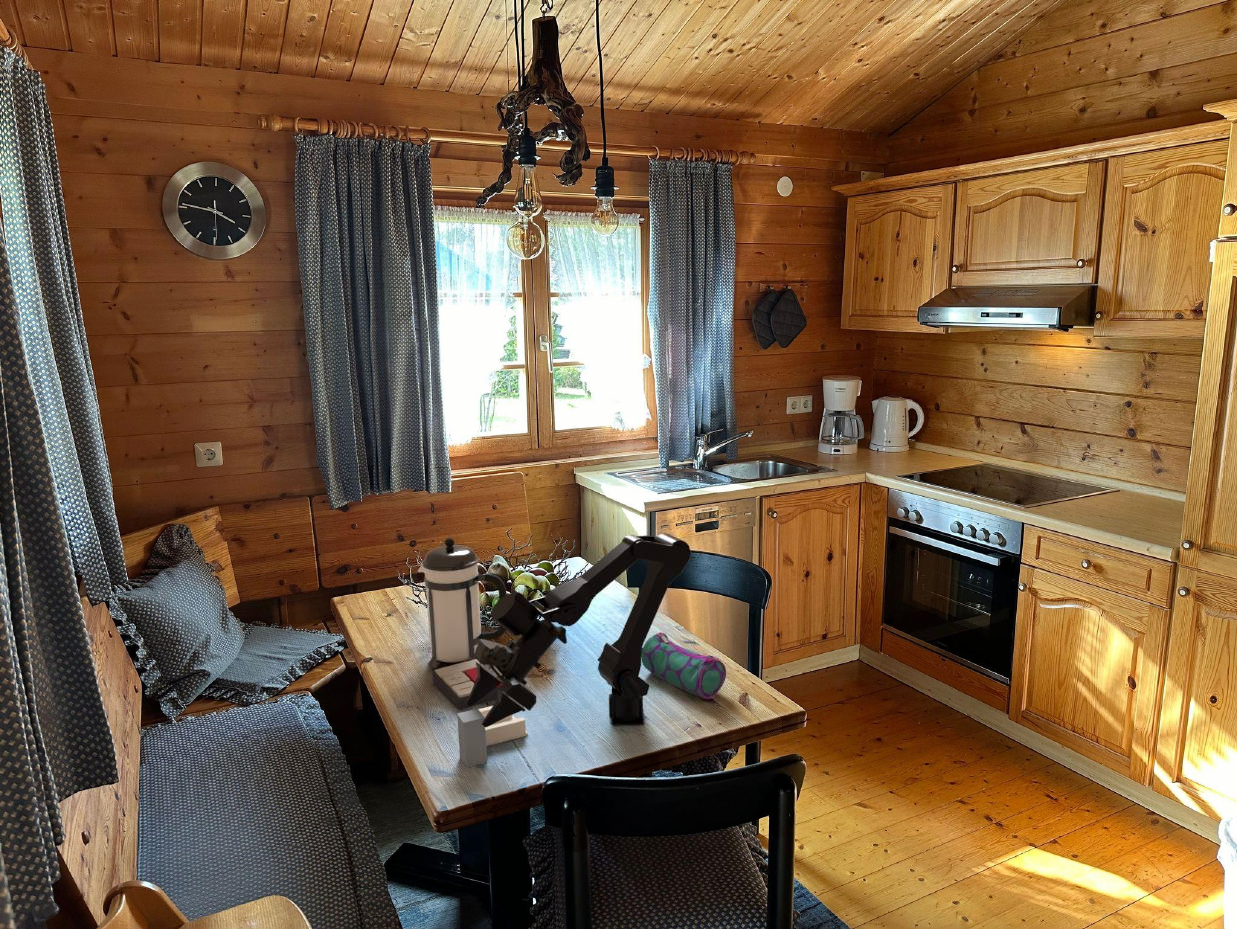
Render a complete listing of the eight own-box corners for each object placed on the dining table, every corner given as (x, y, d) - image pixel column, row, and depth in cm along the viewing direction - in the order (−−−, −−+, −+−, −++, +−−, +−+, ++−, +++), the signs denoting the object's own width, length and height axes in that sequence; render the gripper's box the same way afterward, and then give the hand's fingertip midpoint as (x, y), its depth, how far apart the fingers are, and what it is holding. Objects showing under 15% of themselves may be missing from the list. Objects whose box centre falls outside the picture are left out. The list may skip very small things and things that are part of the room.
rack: (512, 717, 180) (511, 701, 179) (528, 736, 172) (527, 719, 171) (465, 729, 175) (464, 712, 175) (479, 749, 168) (478, 731, 167)
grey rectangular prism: (480, 752, 167) (477, 708, 165) (487, 762, 163) (484, 717, 161) (459, 757, 165) (457, 713, 163) (466, 767, 161) (463, 722, 160)
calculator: (458, 696, 183) (431, 667, 195) (459, 715, 184) (432, 685, 196) (506, 682, 188) (477, 655, 201) (506, 700, 189) (477, 673, 202)
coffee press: (448, 680, 198) (439, 552, 192) (413, 658, 209) (404, 537, 203) (511, 657, 209) (505, 536, 203) (475, 638, 221) (468, 523, 215)
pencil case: (636, 674, 199) (635, 634, 197) (666, 663, 204) (665, 624, 202) (699, 707, 183) (699, 664, 181) (729, 694, 188) (729, 652, 186)
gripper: (483, 608, 170) (430, 673, 167) (518, 642, 154) (459, 714, 151) (523, 639, 175) (472, 703, 172) (560, 675, 159) (504, 745, 156)
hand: (475, 715), depth 163 cm, fingers open, 9 cm apart
